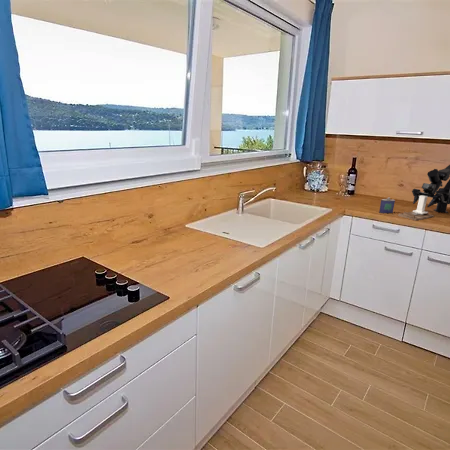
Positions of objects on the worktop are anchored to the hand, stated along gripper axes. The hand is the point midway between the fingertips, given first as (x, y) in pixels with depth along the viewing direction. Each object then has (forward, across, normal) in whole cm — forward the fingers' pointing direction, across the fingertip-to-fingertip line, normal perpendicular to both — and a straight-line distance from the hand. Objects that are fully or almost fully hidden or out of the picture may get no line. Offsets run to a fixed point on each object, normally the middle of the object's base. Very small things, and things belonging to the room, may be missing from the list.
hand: (420, 205), depth 214 cm
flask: (+15, -14, -4) cm, 21 cm away
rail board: (+7, 0, +3) cm, 8 cm away
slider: (+3, 0, +4) cm, 5 cm away
